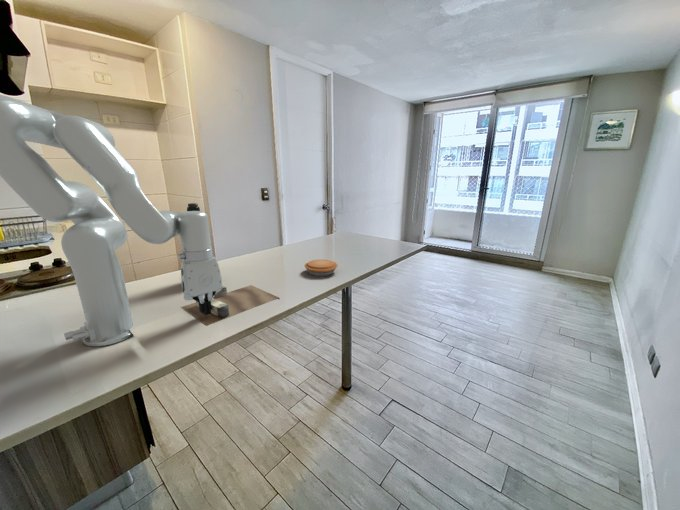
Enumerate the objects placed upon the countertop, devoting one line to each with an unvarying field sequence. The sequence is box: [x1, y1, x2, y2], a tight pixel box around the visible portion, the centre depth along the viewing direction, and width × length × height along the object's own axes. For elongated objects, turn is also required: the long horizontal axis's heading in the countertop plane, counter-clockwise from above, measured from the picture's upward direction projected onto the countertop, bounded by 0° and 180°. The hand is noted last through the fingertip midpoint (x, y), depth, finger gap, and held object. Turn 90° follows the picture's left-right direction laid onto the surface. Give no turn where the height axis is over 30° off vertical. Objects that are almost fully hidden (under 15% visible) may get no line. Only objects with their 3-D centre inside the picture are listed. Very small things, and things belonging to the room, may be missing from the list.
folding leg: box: [195, 294, 229, 317], centre depth 89 cm, size 15×3×3 cm, turn 56°
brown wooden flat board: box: [180, 284, 280, 327], centre depth 95 cm, size 26×18×4 cm
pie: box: [304, 259, 339, 277], centre depth 130 cm, size 15×16×5 cm
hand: (206, 312), depth 85 cm, fingers closed
